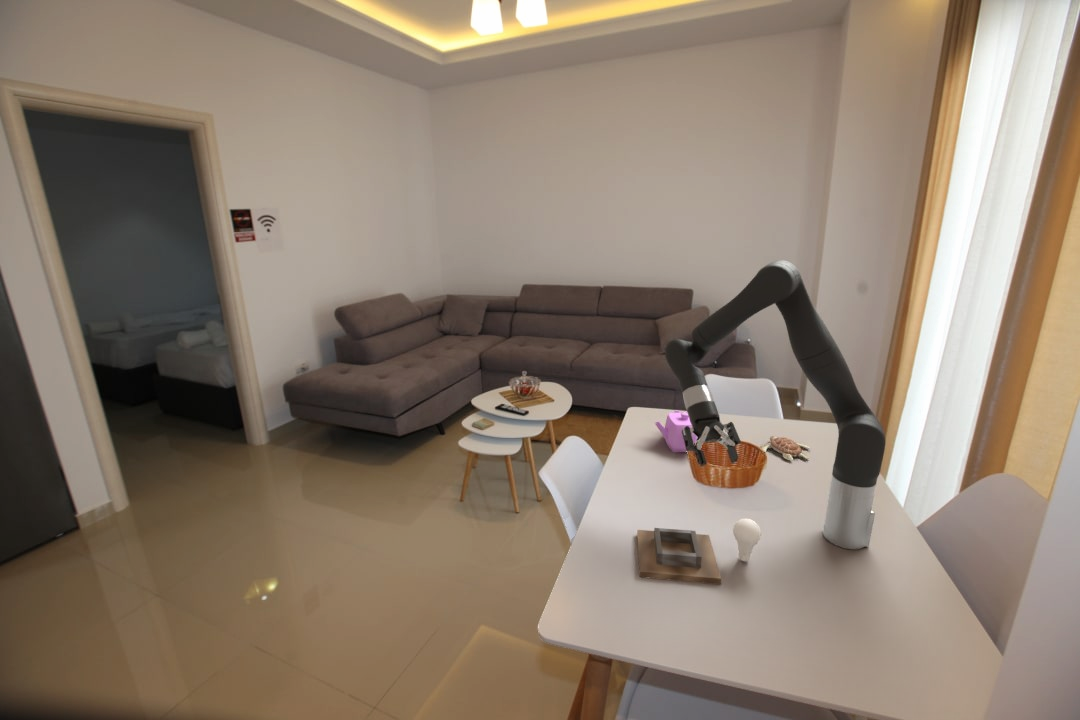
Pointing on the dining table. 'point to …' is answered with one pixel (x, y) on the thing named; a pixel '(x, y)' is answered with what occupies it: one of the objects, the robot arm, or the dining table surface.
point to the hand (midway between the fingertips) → (719, 463)
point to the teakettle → (675, 430)
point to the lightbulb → (746, 537)
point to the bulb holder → (677, 556)
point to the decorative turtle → (786, 447)
